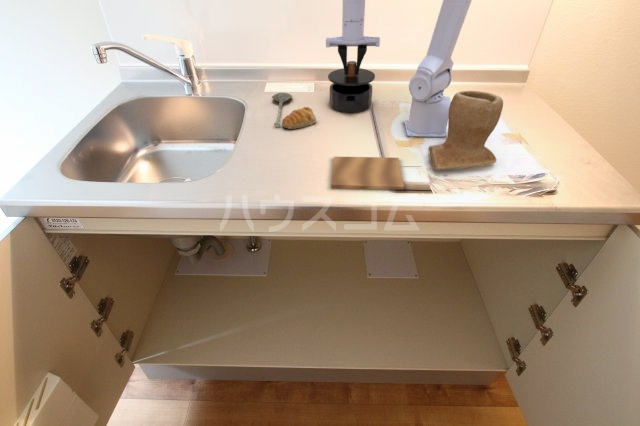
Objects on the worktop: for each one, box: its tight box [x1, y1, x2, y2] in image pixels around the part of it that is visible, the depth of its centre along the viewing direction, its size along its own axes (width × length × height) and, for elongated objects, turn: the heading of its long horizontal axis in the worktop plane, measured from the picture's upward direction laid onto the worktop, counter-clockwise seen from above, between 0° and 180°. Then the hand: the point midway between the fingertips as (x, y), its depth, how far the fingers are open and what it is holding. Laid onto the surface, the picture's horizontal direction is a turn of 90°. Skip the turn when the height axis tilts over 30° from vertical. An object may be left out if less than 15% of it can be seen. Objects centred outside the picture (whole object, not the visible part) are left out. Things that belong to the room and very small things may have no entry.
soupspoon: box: [271, 92, 293, 128], centre depth 96 cm, size 22×3×7 cm
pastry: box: [281, 106, 317, 130], centre depth 88 cm, size 9×7×4 cm
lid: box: [327, 60, 376, 86], centre depth 91 cm, size 14×14×5 cm
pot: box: [329, 82, 373, 114], centre depth 96 cm, size 13×18×5 cm
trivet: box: [330, 156, 405, 191], centre depth 70 cm, size 15×11×1 cm
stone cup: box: [428, 90, 504, 170], centre depth 69 cm, size 15×12×15 cm
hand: (351, 73), depth 92 cm, fingers closed on lid, 2 cm apart
